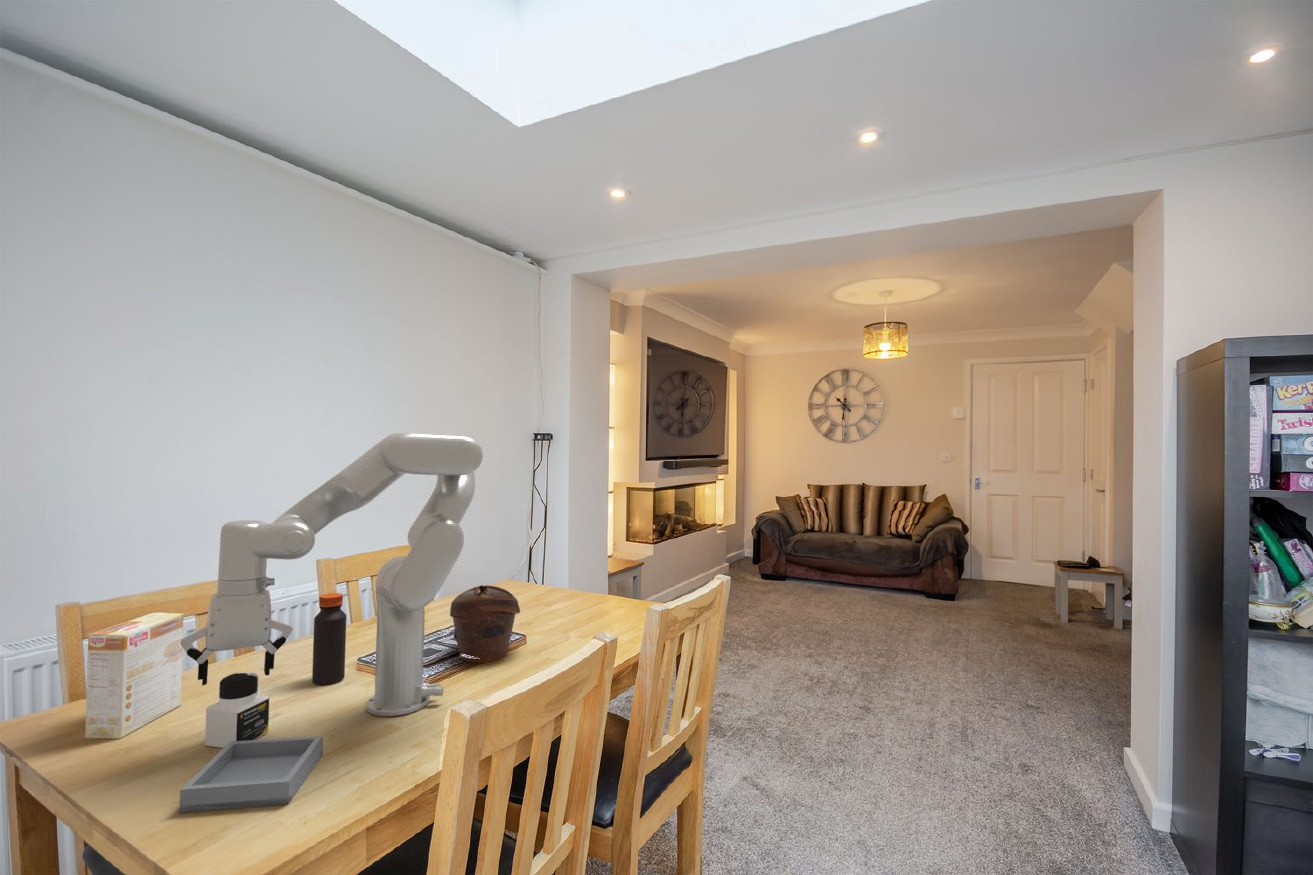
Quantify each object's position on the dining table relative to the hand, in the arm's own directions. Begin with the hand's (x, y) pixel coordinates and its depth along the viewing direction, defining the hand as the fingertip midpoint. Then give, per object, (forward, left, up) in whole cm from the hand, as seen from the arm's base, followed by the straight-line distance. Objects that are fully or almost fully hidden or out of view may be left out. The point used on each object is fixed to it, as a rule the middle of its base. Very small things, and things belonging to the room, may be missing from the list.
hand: (236, 677), depth 113 cm
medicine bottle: (0, 0, -12) cm, 12 cm away
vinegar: (-7, -28, -12) cm, 31 cm away
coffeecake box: (+23, -11, -12) cm, 28 cm away
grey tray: (-10, +16, -12) cm, 22 cm away
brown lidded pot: (-41, -42, -12) cm, 60 cm away
